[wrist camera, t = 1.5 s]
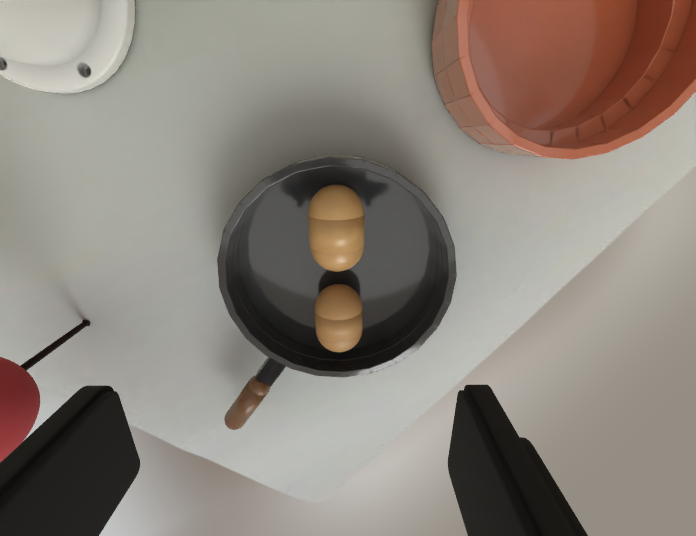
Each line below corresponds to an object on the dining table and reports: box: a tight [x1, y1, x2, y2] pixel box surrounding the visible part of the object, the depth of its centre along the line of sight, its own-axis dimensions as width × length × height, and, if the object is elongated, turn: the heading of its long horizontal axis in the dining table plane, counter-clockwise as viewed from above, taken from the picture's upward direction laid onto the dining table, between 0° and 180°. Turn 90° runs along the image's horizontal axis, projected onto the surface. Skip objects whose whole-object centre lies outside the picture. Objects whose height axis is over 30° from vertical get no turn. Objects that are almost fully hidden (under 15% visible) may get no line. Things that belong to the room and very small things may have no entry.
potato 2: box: [315, 284, 362, 352], centre depth 28 cm, size 6×4×4 cm, turn 1°
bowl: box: [432, 0, 696, 159], centre depth 20 cm, size 15×15×6 cm
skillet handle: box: [225, 357, 286, 430], centre depth 30 cm, size 10×2×2 cm, turn 146°
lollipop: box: [0, 320, 90, 463], centre depth 24 cm, size 8×8×15 cm
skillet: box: [217, 155, 456, 377], centre depth 27 cm, size 18×18×4 cm
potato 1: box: [308, 185, 365, 272], centre depth 25 cm, size 7×4×4 cm, turn 1°
